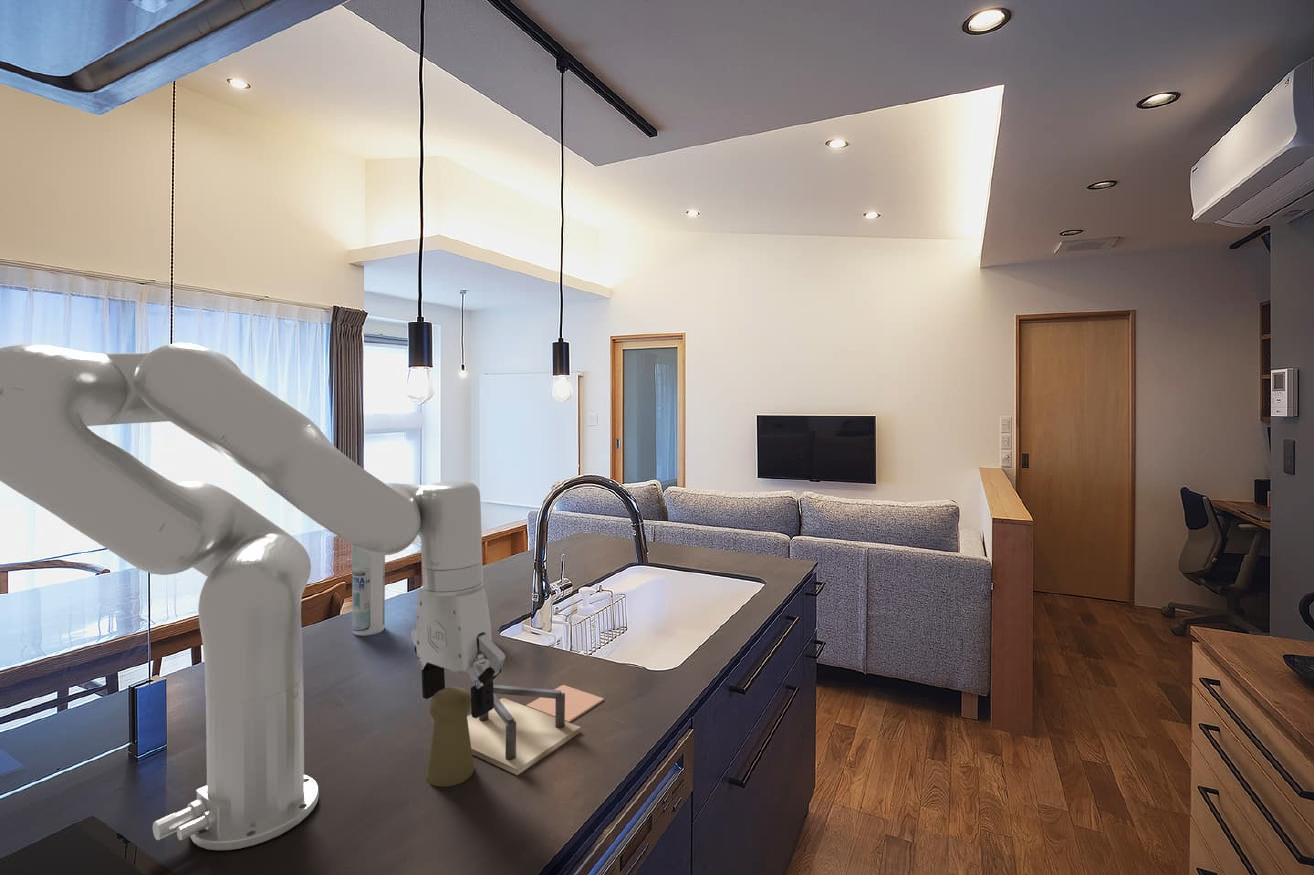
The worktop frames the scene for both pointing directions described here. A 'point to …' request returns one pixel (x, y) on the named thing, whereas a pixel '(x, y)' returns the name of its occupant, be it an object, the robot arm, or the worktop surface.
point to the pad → (567, 703)
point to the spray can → (368, 592)
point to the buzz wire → (519, 730)
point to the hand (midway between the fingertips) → (457, 703)
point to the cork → (450, 738)
